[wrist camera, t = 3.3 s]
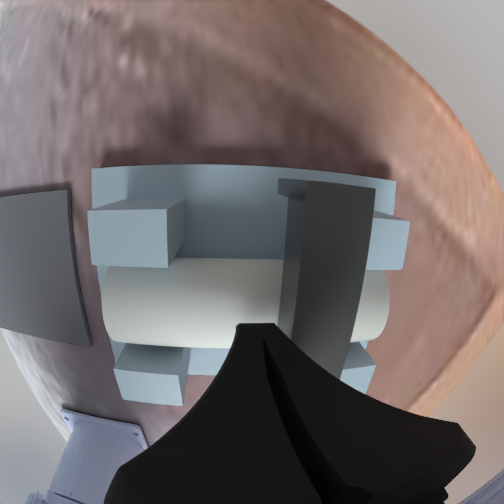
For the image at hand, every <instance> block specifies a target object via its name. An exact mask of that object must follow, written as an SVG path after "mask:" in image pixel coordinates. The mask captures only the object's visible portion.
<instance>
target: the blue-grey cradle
mask: <svg viewBox="0 0 504 504" xmlns="http://www.w3.org/2000/svg"><path fill="white" fill-rule="evenodd" d="M278 178H286V179H299V180H311V181H322V182H332V183H340V184H347V185H355V186H362V187H369V188H375V189H376V193H375V203H374V213H373V222H372V230H371V238H370V245H369V252H368V258H367V264H366V270H383V272H384V271H385V270H402V267H403V262H404V257H405V251H406V245H407V239H408V232H409V225H410V221H408V220H405V219H401V218H398V217H395V216H393V212H394V202H395V192H396V181H391V180H385V179H379V178H372V177H366V176H358V175H351V174H343V173H335V172H326V171H316V170H306V169H294V168H282V167H266V166H247V165H214V164H172V165H140V166H122V167H107V168H95V169H92V176H91V186H92V209H91V210H88V211H87V215H88V231H89V243H90V253H91V262H92V265H97V272H98V280H99V286H100V293H101V299H102V287H103V281H104V277H105V273H106V270H107V268H108V266H125V267H155V268H168V267H169V266H170V264H171V262H172V260H173V259H174V257H181V258H229V259H284V251H285V238H286V224H287V210H288V197H285V196H283V195H280V194H278ZM109 339H110V343H111V347H112V351H113V355H114V359H115V363H116V364H115V366H114V368H113V370H114V374H115V377H116V380H117V383H118V387H119V390H120V393H121V396H122V399H124V400H130V401H138V402H146V403H154V404H164V405H176V406H183V402H184V395H185V388H186V381H187V374H191V375H217V373H218V372H219V370H220V368H221V366H222V364H223V363H224V361H225V359H226V357H227V355H228V352H229V350H230V348H191V347H171V346H156V345H144V344H133V343H123V342H115V341H113V340H112V339H111V338H110V336H109ZM367 343H368V341H359V342H350V345H349V349H348V352H347V356H346V360H345V363H344V367H343V370H342V374H341V377H340V380H341V381H343V382H344V383H346V384H347V385H349V386H351V387H352V388H354V389H356V390H358V391H360V392H362V393H363V394H365V393H366V391H367V388H368V386H369V383H370V380H371V378H372V375H373V372H374V369H375V367H376V364H375V363H374V361H373V360H372V358H371V357H370V356H369V354H368V353H367V352H366V346H367Z"/></svg>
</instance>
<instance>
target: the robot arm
mask: <svg viewBox="0 0 504 504" xmlns="http://www.w3.org/2000/svg"><path fill="white" fill-rule="evenodd" d="M60 413H61V415H62V417H63V419H64V421H65V422H66V424H67V426H68V427H69V429H70V431H71V432H72V434H71V436H70V438H69V441H68V443H67V445H66V448H65V450H64V453H63V455H62V458H61V460H60V462H59V465H58V467H57V470H56V472H55V475H54V477H53V480H52V483H51V485H50V488H49V490H48V492H47V494H46V496H45V498H44V500H43V495H42V494H40V493H39V492H36V494H35V493H32V494H29V496H28V498H27V501H26V503H25V504H444V502H443V501H445V500H446V499H447V498H448V494H447V492H446V490H445V488H444V487H446V486H447V485H448V484H449V483H450V482H451V481H452V480H453V479H454V478H455V477H456V476H457V475H458V474H459V473H460V472H461V471H462V470H463V469H464V468H465V467H466V466H467V464H468V463H469V462H470V461H471V459H472V458H473V456H474V454H475V450H476V446H475V445H474V444H473V442H472V441H471V440H470V438H469V437H468V436H467V435H466V433H465V432H464V431H463V429H462V428H461V427H460V425H459V424H458V423H454V422H449V421H443V420H438V419H434V418H429V417H424V416H420V415H417V414H413V413H410V412H407V411H404V410H401V409H398V408H395V407H393V406H390V405H388V404H385V403H383V402H380V401H378V400H376V399H374V398H372V397H370V396H368V395H365V394H363V393H362V392H360V391H358V390H356V389H354V388H352V387H351V386H349V385H347V384H346V383H344V382H343V381H341V380H339V379H338V378H336V377H335V376H333V375H332V374H330V373H329V372H328V371H326V370H325V369H324V368H322V367H321V366H320V365H318V364H317V363H316V362H315V361H313V360H312V359H311V358H310V357H309V356H307V355H306V354H305V353H304V352H303V351H302V350H301V349H300V348H299V347H298V346H297V345H296V344H294V343H293V342H292V341H291V340H290V339H289V338H288V336H287V335H286V334H285V333H284V332H283V331H282V330H281V329H280V328H279V327H278V326H277V325H276V324H275V323H239V324H238V325H237V326H236V332H235V336H234V340H233V343H232V345H231V348H230V350H229V352H228V355H227V357H226V359H225V361H224V363H223V364H222V366H221V368H220V370H219V372H218V373H217V375H216V377H215V378H214V380H213V381H212V383H211V384H210V386H209V387H208V389H207V390H206V391H205V393H204V394H203V395H202V397H201V398H200V399H199V400H198V401H197V403H196V404H195V405H194V406H193V407H192V408H191V410H190V411H189V412H188V413H187V414H186V415H185V416H184V417H183V418H182V419H181V420H180V421H179V422H178V423H177V424H176V425H175V426H174V427H172V428H171V429H170V430H169V431H168V432H167V433H166V434H165V435H163V436H162V437H161V438H160V439H159V440H158V441H156V442H155V443H154V444H153V445H151V446H150V447H148V445H147V443H146V440H145V437H144V435H143V432H142V430H141V428H140V427H139V426H138V425H135V424H129V423H123V422H118V421H113V420H108V419H103V418H98V417H94V416H89V415H85V414H81V413H77V412H74V411H70V410H66V409H61V411H60ZM458 504H504V469H503V470H502V471H501V472H500V473H498V474H497V475H496V476H495V477H494V478H492V479H491V480H490V481H489V482H487V483H486V484H485V485H483V486H482V487H481V488H480V489H478V490H477V491H475V492H474V493H473V494H471V495H470V496H468V497H467V498H466V499H464V500H463V501H461V502H460V503H458Z"/></svg>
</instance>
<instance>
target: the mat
mask: <svg viewBox="0 0 504 504" xmlns="http://www.w3.org/2000/svg"><path fill="white" fill-rule="evenodd" d="M0 328H4V329H8V330H11V331H15V332H19V333H23V334H27V335H32V336H36V337H41V338H45V339H50V340H55V341H60V342H65V343H71V344H77V345H83V346H89V347H90V346H91V345H92V340H91V337H90V333H89V329H88V324H87V320H86V316H85V311H84V306H83V301H82V296H81V291H80V285H79V279H78V273H77V266H76V258H75V250H74V241H73V230H72V216H71V190H70V189H65V190H54V191H44V192H35V193H26V194H18V195H11V196H4V197H0Z"/></svg>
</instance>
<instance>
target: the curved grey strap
mask: <svg viewBox="0 0 504 504" xmlns="http://www.w3.org/2000/svg"><path fill="white" fill-rule="evenodd" d="M375 193H376V189H375V188H369V187H362V186H355V185H347V184H340V183H332V182H322V181H311V180H299V179H286V178H278V194H280V195H283V196H285V197H288V210H287V224H286V238H285V251H284V263H283V275H282V286H281V297H280V307H279V317H278V327H279V328H280V329H281V330H282V331H283V332H284V333H285V334H286V335H287V336H288V338H289V339H290V340H291V341H292V342H293V343H294V344H296V345H297V346H298V347H299V348H300V349H301V350H302V351H303V352H304V353H305V354H306V355H307V356H309V357H310V358H311V359H312V360H313V361H315V362H316V363H317V364H318V365H320V366H321V367H322V368H324V369H325V370H326V371H328V372H329V373H330V374H332V375H333V376H335V377H336V378H338V379H339V380H340V377H341V374H342V370H343V367H344V363H345V360H346V356H347V352H348V349H349V345H350V341H351V337H352V333H353V329H354V324H355V320H356V316H357V311H358V307H359V302H360V297H361V292H362V287H363V281H364V276H365V270H366V264H367V258H368V252H369V245H370V238H371V230H372V222H373V213H374V203H375Z"/></svg>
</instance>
